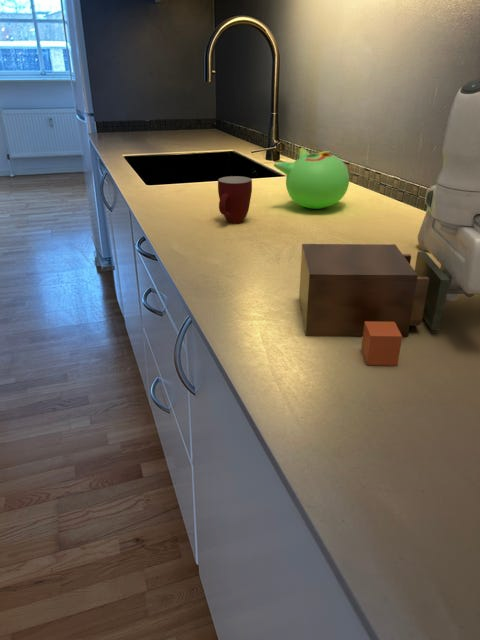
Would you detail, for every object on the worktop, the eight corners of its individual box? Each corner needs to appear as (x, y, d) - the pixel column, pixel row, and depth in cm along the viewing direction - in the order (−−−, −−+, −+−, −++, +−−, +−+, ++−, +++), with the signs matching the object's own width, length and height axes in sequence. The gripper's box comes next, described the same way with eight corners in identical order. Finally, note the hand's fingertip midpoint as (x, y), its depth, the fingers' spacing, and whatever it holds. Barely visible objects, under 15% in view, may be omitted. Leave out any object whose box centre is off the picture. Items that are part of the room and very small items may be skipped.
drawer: (447, 297, 83) (456, 251, 80) (474, 330, 73) (486, 279, 70) (334, 295, 84) (338, 250, 80) (345, 328, 74) (350, 278, 70)
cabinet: (387, 299, 84) (395, 244, 80) (407, 337, 73) (418, 274, 69) (299, 299, 85) (302, 243, 80) (305, 335, 74) (309, 273, 69)
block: (390, 350, 70) (394, 321, 68) (397, 365, 66) (402, 336, 64) (361, 349, 70) (364, 321, 68) (366, 365, 67) (370, 335, 65)
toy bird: (331, 219, 126) (336, 157, 119) (270, 210, 134) (271, 152, 127) (355, 203, 140) (360, 147, 133) (298, 195, 147) (301, 142, 141)
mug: (240, 230, 118) (240, 187, 114) (209, 226, 121) (207, 184, 116) (256, 218, 127) (256, 177, 122) (226, 215, 130) (225, 175, 125)
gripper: (524, 228, 61) (498, 329, 68) (463, 189, 80) (447, 271, 86) (471, 228, 62) (450, 329, 68) (422, 189, 80) (409, 271, 86)
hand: (448, 296), depth 77 cm, fingers closed
